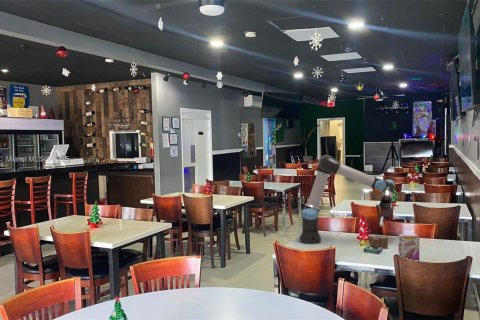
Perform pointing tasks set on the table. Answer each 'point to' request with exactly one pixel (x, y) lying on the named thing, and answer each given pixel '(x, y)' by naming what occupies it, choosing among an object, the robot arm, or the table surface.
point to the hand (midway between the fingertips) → (381, 225)
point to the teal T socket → (373, 250)
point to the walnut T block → (378, 242)
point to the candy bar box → (409, 246)
